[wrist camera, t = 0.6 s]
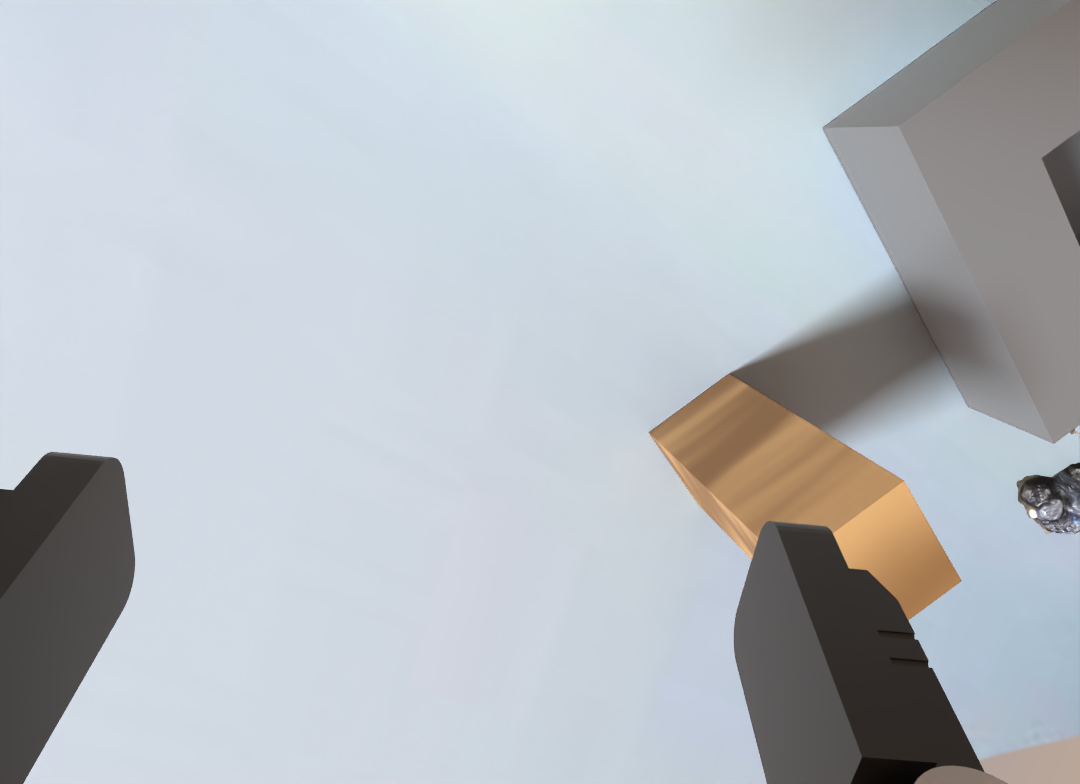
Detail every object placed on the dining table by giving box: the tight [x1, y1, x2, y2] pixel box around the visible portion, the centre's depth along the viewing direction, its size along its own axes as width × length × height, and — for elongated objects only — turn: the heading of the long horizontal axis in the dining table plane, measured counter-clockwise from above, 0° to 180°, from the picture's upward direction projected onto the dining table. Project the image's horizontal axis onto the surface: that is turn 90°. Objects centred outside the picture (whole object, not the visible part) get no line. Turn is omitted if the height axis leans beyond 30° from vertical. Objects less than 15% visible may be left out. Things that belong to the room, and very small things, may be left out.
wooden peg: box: [649, 374, 961, 620], centre depth 31 cm, size 4×4×12 cm
